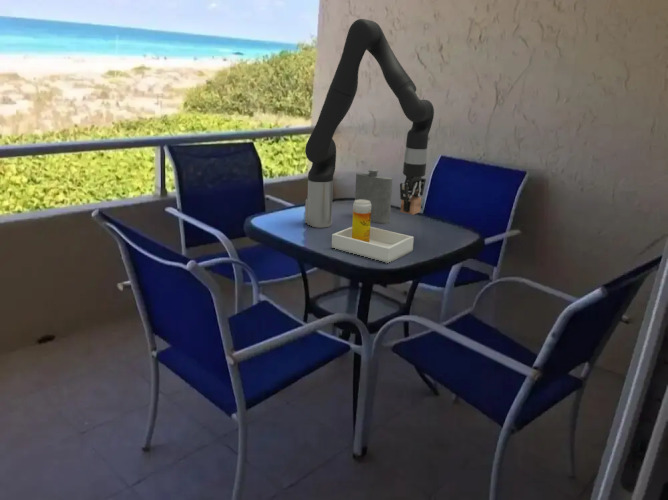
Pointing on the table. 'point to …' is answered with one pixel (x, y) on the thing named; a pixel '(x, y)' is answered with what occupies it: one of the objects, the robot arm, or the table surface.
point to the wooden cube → (412, 205)
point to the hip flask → (375, 194)
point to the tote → (374, 244)
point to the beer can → (361, 220)
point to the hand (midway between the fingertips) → (410, 209)
